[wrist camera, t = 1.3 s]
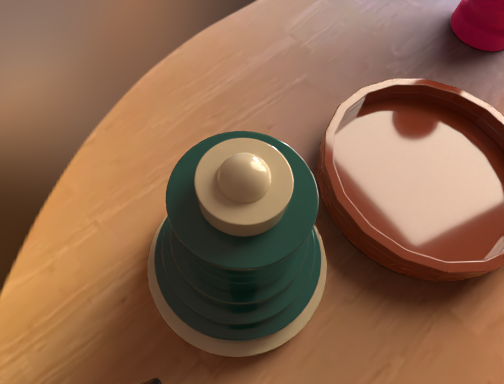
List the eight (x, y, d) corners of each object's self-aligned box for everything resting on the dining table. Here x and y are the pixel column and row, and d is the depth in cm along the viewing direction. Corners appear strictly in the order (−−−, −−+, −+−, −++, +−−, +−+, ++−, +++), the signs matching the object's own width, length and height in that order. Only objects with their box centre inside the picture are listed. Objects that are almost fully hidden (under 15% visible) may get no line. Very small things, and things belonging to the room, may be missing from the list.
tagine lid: (353, 312, 22) (480, 256, 11) (181, 391, 20) (117, 424, 8) (279, 168, 27) (316, 22, 15) (132, 218, 24) (46, 88, 13)
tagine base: (565, 233, 25) (599, 220, 23) (383, 319, 22) (401, 314, 20) (439, 81, 31) (456, 58, 29) (282, 130, 28) (286, 109, 26)
